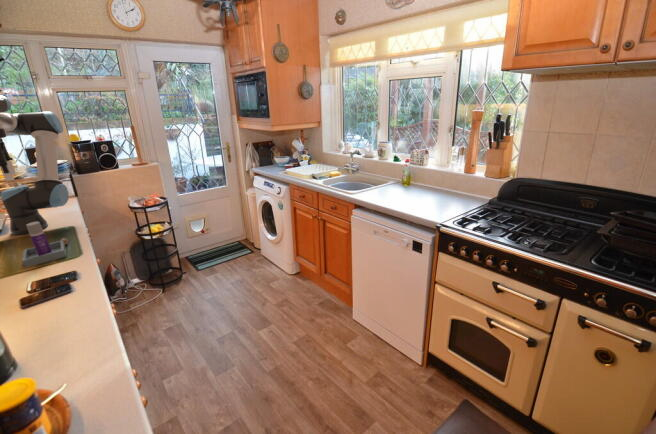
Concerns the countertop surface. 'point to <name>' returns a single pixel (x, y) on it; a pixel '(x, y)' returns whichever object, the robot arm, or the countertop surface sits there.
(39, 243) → the container
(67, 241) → the ball
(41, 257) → the tray
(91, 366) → the countertop surface
